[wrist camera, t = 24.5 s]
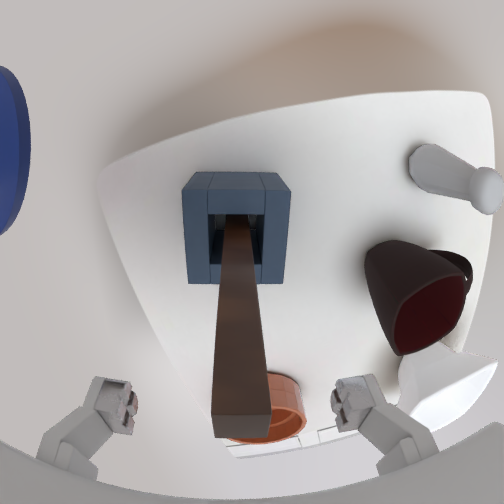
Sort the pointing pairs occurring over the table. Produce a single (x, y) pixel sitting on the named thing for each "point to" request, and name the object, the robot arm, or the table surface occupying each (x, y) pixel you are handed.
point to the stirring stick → (239, 342)
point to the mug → (416, 292)
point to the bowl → (441, 384)
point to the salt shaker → (456, 178)
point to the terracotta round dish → (282, 411)
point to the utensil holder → (235, 202)
